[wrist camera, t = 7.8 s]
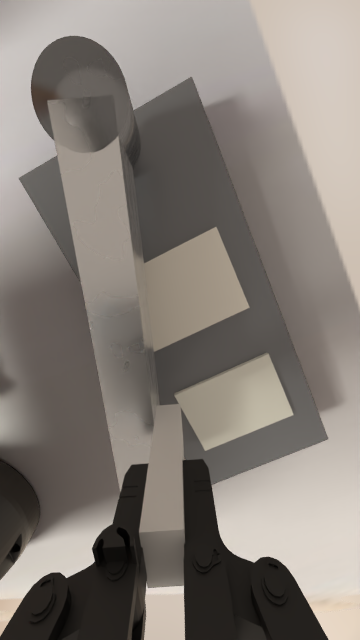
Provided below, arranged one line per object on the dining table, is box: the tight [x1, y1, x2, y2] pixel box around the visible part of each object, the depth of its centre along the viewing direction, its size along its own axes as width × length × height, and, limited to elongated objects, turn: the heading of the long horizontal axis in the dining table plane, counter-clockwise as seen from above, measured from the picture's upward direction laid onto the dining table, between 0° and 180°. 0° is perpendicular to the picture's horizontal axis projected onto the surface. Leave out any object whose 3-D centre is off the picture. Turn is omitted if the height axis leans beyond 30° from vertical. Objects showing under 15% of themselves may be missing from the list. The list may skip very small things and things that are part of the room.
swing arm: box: [31, 36, 160, 492], centre depth 12 cm, size 4×24×3 cm, turn 4°
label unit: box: [19, 77, 328, 485], centre depth 17 cm, size 12×28×5 cm, turn 26°
